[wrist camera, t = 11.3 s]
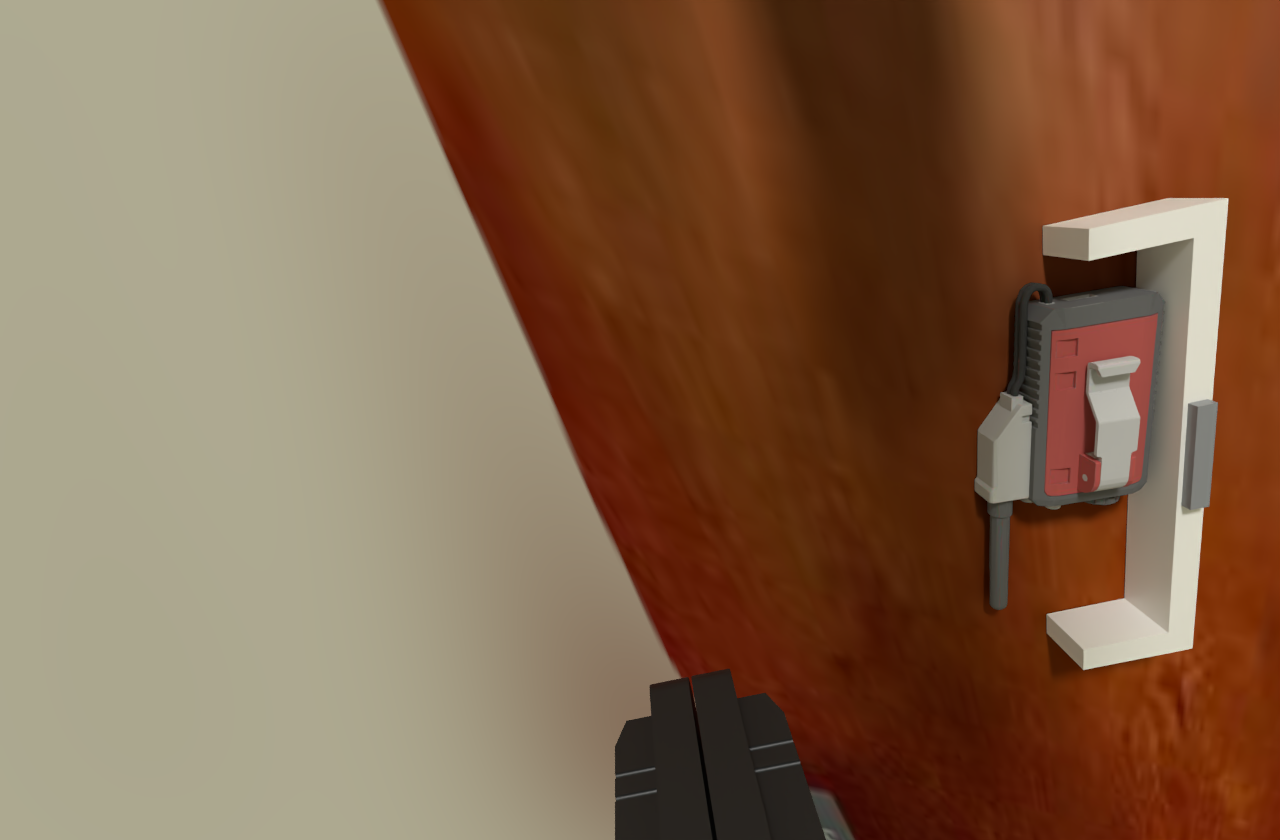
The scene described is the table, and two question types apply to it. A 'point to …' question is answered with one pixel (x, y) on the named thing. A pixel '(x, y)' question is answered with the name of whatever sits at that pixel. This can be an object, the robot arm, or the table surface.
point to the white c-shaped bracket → (1158, 426)
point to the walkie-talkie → (1070, 408)
